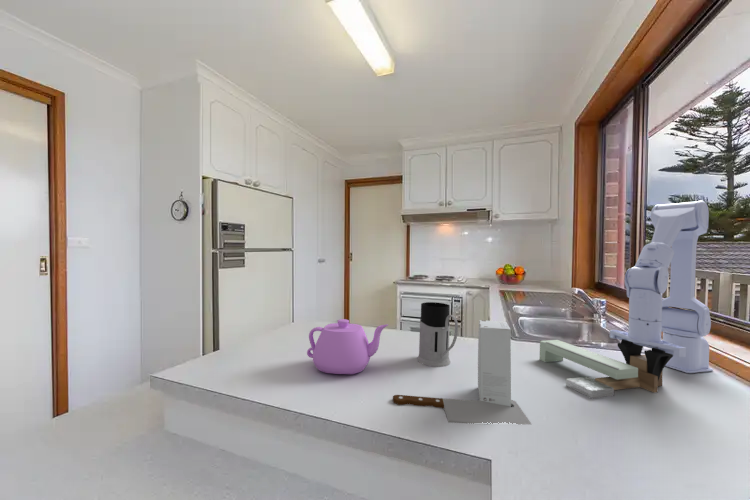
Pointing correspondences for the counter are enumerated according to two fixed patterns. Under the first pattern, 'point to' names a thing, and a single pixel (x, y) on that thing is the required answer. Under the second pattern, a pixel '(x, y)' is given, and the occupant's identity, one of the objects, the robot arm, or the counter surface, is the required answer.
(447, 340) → the glass holder
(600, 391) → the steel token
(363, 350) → the teapot
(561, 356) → the drawer pull
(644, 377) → the push stick
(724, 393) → the counter surface
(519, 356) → the counter surface
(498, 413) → the kitchen cleaver
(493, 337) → the skincare box
